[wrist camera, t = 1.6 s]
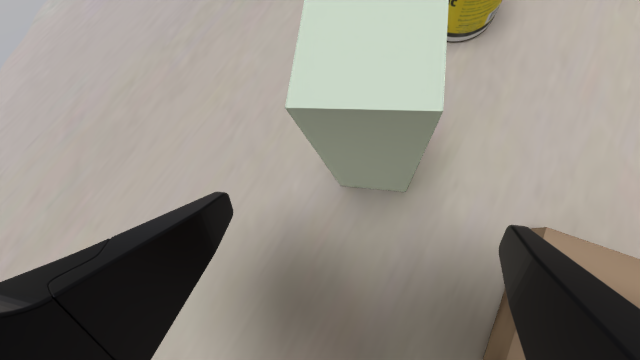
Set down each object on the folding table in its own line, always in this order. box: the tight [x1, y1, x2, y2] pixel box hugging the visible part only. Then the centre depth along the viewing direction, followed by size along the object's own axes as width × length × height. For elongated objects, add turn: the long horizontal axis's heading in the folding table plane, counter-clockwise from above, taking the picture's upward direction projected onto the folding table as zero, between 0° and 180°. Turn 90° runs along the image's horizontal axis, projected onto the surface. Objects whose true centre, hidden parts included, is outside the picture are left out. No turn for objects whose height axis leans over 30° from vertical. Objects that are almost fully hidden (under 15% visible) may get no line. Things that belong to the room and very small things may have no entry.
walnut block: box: [483, 227, 640, 360], centre depth 15 cm, size 9×9×3 cm
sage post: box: [285, 0, 449, 192], centre depth 15 cm, size 5×5×13 cm
